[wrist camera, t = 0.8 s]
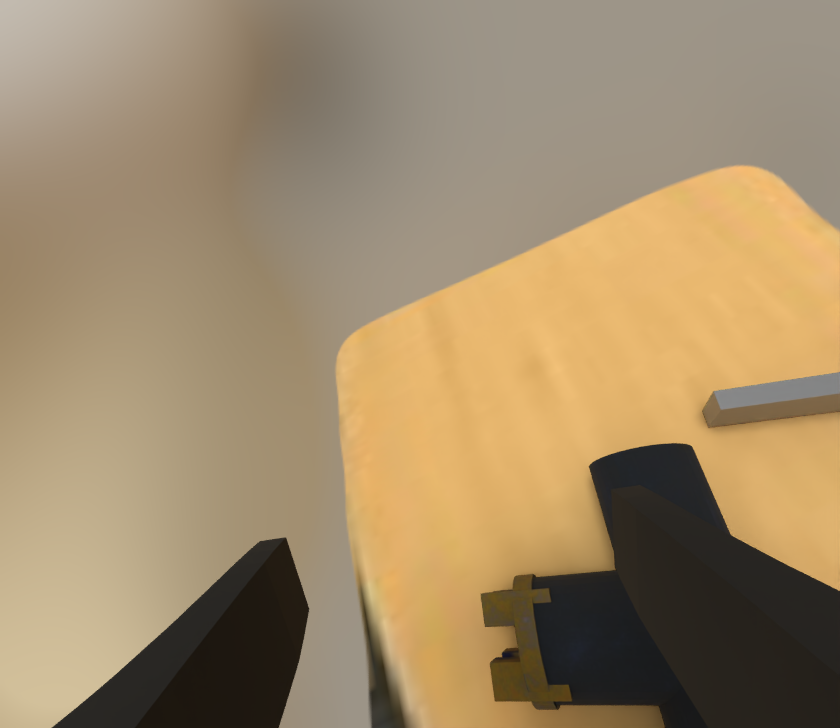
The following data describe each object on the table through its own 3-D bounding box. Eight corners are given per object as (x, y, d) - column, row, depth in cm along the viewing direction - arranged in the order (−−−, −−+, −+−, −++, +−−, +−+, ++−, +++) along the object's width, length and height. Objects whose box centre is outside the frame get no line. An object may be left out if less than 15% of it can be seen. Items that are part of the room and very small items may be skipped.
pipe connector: (517, 908, 14) (462, 477, 21) (537, 828, 18) (485, 493, 25) (950, 976, 10) (703, 435, 18) (846, 857, 15) (682, 462, 22)
